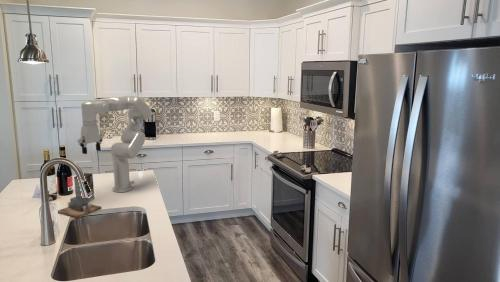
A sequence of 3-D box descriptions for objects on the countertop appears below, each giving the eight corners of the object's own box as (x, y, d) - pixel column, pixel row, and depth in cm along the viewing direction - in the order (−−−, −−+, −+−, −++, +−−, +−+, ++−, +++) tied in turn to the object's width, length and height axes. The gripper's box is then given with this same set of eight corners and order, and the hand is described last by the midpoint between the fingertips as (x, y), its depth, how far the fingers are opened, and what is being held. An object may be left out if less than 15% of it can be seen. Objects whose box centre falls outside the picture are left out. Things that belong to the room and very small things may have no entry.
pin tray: (81, 203, 216) (81, 197, 215) (101, 208, 209) (100, 201, 208) (57, 212, 202) (56, 205, 201) (77, 218, 195) (76, 210, 194)
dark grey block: (78, 206, 209) (77, 196, 208) (88, 208, 206) (87, 198, 205) (70, 208, 205) (70, 198, 204) (80, 211, 201) (80, 201, 200)
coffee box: (85, 197, 227) (83, 172, 224) (94, 198, 226) (93, 173, 223) (75, 202, 218) (73, 176, 215) (85, 203, 217) (83, 177, 214)
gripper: (97, 121, 221) (99, 148, 225) (72, 124, 206) (74, 154, 209) (106, 122, 218) (107, 150, 221) (81, 125, 203) (83, 155, 206)
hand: (91, 152), depth 215 cm, fingers open, 9 cm apart
